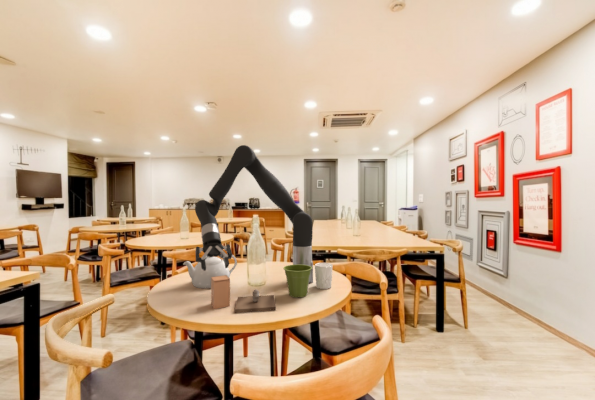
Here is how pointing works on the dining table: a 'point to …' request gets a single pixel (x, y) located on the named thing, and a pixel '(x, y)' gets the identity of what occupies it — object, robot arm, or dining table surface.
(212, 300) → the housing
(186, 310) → the dining table surface
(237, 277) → the dining table surface
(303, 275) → the plant pot
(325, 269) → the white cup
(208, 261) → the teapot
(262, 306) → the plate
